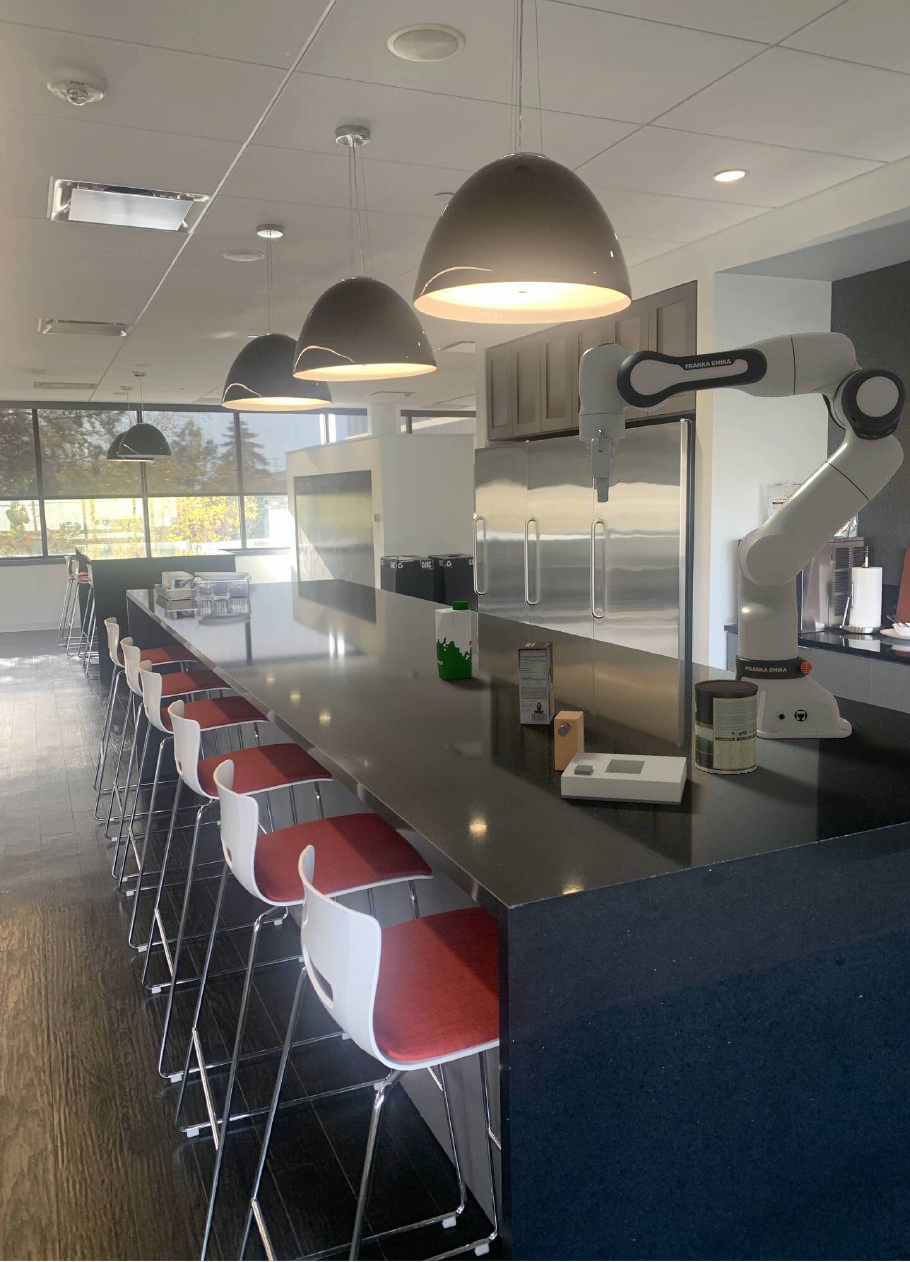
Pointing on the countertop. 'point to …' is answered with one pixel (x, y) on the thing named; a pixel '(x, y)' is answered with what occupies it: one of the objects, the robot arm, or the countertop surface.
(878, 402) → the robot arm
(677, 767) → the socket
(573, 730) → the plug
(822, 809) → the countertop surface
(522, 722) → the coffee box
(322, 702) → the countertop surface
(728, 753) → the coffee can
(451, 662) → the milk carton
